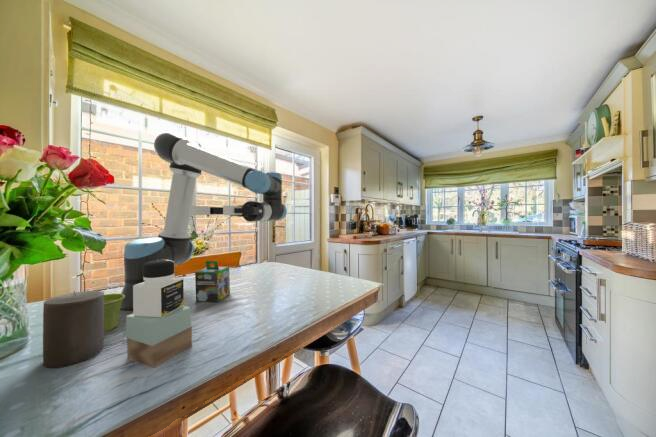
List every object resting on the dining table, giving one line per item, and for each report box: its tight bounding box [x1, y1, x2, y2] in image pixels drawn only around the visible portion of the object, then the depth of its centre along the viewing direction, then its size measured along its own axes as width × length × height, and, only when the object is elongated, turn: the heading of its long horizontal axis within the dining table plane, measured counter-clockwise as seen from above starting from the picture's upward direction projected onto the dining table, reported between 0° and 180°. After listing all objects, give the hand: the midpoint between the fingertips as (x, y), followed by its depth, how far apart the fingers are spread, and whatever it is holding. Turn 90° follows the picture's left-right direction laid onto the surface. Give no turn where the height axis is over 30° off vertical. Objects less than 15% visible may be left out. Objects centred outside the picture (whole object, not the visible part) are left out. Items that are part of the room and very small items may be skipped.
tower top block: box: [125, 305, 192, 346], centre depth 56 cm, size 9×9×5 cm
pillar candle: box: [42, 290, 105, 369], centre depth 55 cm, size 10×10×15 cm
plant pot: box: [104, 293, 125, 333], centre depth 67 cm, size 9×9×9 cm
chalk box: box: [194, 260, 231, 303], centre depth 92 cm, size 9×9×15 cm
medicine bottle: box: [132, 260, 185, 318], centre depth 56 cm, size 7×7×12 cm
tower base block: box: [126, 326, 193, 369], centre depth 56 cm, size 9×9×5 cm
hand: (206, 210), depth 68 cm, fingers open, 13 cm apart
